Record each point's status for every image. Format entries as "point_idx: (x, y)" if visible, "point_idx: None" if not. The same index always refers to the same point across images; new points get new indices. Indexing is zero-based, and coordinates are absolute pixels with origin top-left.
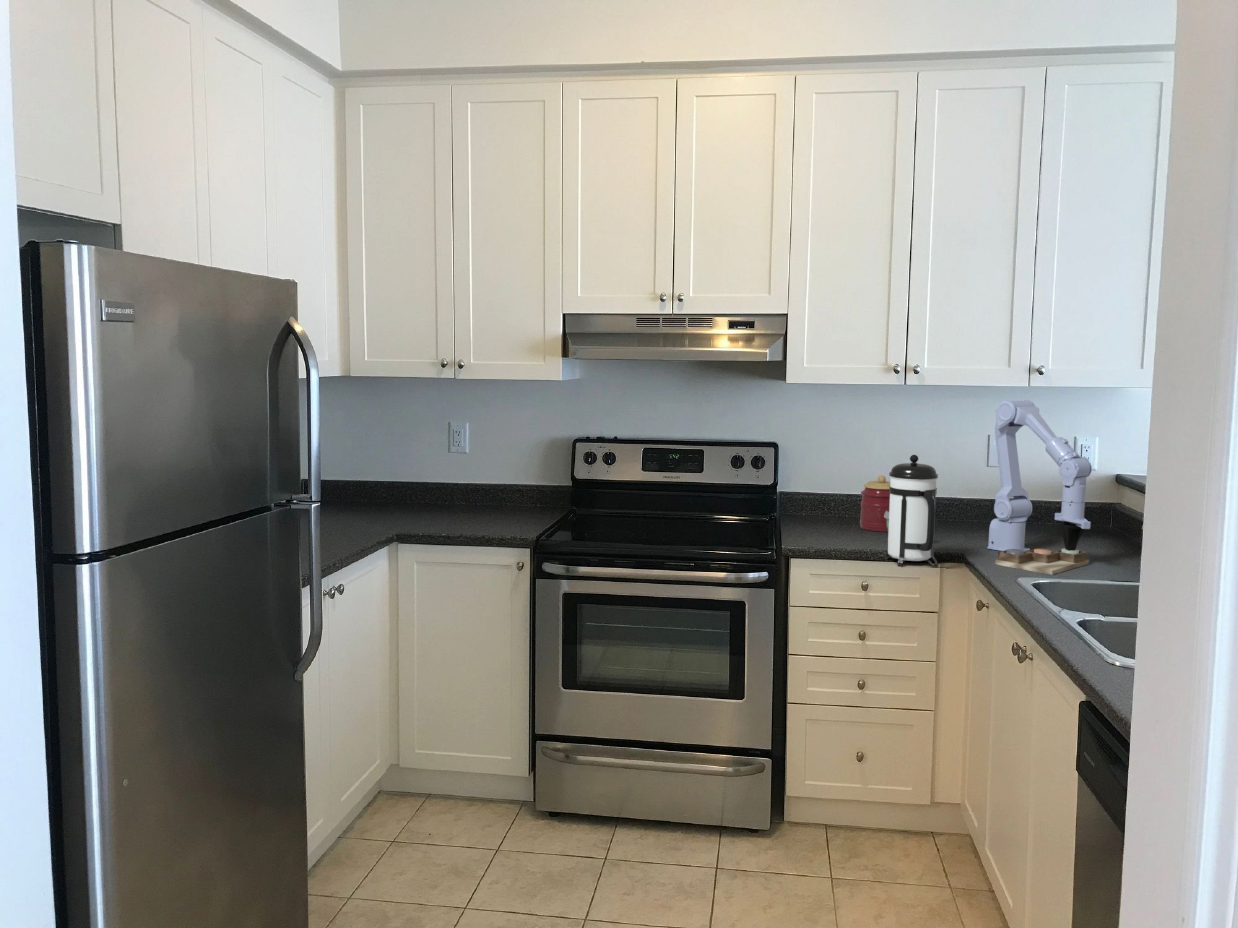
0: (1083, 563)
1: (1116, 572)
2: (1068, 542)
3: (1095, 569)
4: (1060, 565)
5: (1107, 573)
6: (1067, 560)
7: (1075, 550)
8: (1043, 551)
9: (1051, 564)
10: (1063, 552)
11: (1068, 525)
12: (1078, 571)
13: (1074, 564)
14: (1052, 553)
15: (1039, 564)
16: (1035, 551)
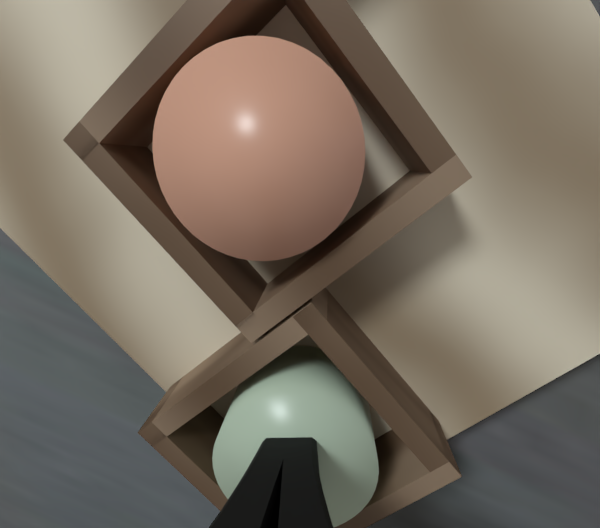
0: None
1: (80, 522)
2: (222, 514)
3: (142, 456)
4: (54, 224)
5: (41, 467)
6: (215, 354)
7: None
8: (176, 130)
9: (81, 160)
10: (272, 384)
11: None
12: (58, 327)
13: (139, 360)
14: (188, 241)
15: (56, 31)
16: (236, 43)
